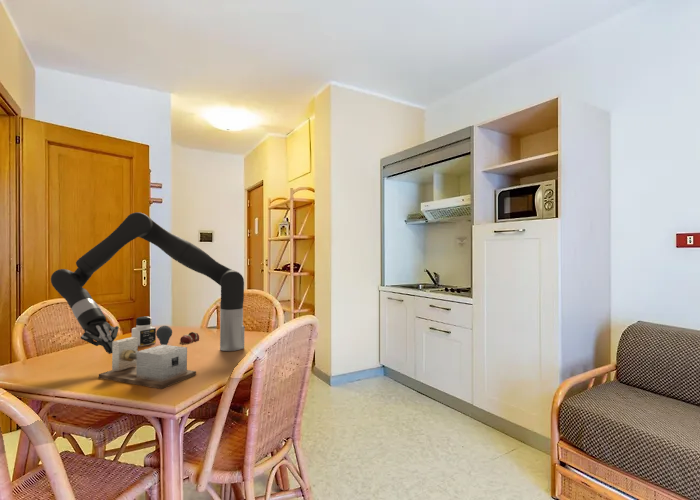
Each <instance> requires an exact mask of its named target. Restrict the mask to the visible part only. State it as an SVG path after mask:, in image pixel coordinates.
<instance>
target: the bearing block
mask: <svg viewBox="0 0 700 500" xmlns="http://www.w3.org/2000/svg"><path fill="white" fill-rule="evenodd" d="M187 370H188V347H185V346H177V345H170V344H167V345H161V344H159V345H157V346H152V347H150V348H144V349H141V350H137V375H136V378H142V379H148V380H154V381H160V382H163V381H166V380H168V379H171V378H173V377H176V376H179V375H181V374H184V373H186V372H187Z"/></svg>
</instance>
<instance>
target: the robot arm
mask: <svg viewBox="0 0 700 500" xmlns="http://www.w3.org/2000/svg"><path fill="white" fill-rule="evenodd" d="M137 238H140V239H142V240H145V241H147V242H149V243H151V244H153V245H154V246H156V247H157V248H159V249H160V250H161V251H163V252H164V253H165V254H166V255H168V256H169V257H170V258H171V259H173V260H174V261H175V262H177V263H179V264H180V265H182V266H184V267H186V268H188V269H189V270H191V271H194V272H196V273H199V274H201V275H204V276H206V277H207V278H209V279H210V280H212V281H213V282H215V283H216V284H218V285H219V286H220V307H219V308H220V309H219V311H220V315H219V316H220V317H219V318H220V319H219V321H220V322H219V326H220V327H219V328H220V329H219V331H220V332H219V333H220V334H219V349H220V351H222V352H223V351H224V352H234V351H240V350H243V349H245V325H244V301H245V299H244V298H245V280H244V276H243V275H242V274H241V273H240V272H238V271H236V270H233V269H232V268H230V267H227V266H225V265H224V264H222V263H220V262H219V261H217V260H216V259H214V258H213V257H212V256H210V254H208V253H207V252H205V251H204V250H202V248H199V246H197V245H195V244H194V243H192V242H190V241H189V240H187V239H185V238H183V237H180V236H179V235H176V234H175V233H172V232H170V231H168V230H167V229H165V228H163V226H161V225H159V224H158V223H157V222H156V221H154V219H151V217H149V215H147V214H145V213H144V212H143V213H142V212H140V211H139V212H132V213H130V214H129V215H127V216H126V218H125V219H124V220H123V221H122V222H121V223H120V224H119V225H118V226H117V228H116V229H114V230H113V231H112V233H110V234H109V235H108V236H107V237H105V238H104V239H103V240H101V241H100V242H99V243H98V244H96V245H95V246H93V247H92V248H91V249H90V250H88V251H87V252H85V253H84V254H83V255H82V256H80V257H79V258H78V259H77V260H76V262H75V265H76V267H77V268H76V270H74V271H71V270H69V269H67V268H66V269H65V268H60V269H57V270H55V271H54V272H53V273H52V274H51V276H50V283H51V285H52V287H53V288H54V290H55V291H56V292H57V293H58V294H59V295H60V296H61V297H62V298H63V299H64V300H65V301H66V303H67V304H68V306H69V307H70V309H71V311H72V313H73V315H74V317H75V319H76V321H77V322H78V324H79V325H80V327H81V329H82V330H83V331H84V333H82V335H81V336H80V339H81V340H83V341H84V342H87V343H89V344H91V345H92V346H93V345H94V346H95V347H98V346H101V347H102V348H103V349H104V351H105V352H106V353H107V354H108V355H111V354H112V341H116V339H117V337H118V334H119V333H118V332H119V326H118V325H115V327H114V326H112V325H111V324H110V323H108V321H107V317H106V316H105V314H104V312H103V311H102V310H101V308H100V307H99V305H98V303H97V302H96V301H95V300H94V299H93V297H92V296H91V294H90V293H89V291H88V290H87V289H86V288H83V287H84V286H85V285H86V283H87V282H88V281H89V280H90V279H91V277H92V276H93V274H94V273H95V272H97V271H98V270H99V269H100V268H101V267H103V266H104V265H105V264H106V263H108V261H110V260H112V258H113V257H114V256H115V255H116V254H117V253H118V252H120V250H121V249H122V248H123V247H125V246H126V245H127V244H129V243H130V242H131V241H133V240H135V239H137Z"/></svg>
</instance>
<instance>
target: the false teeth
mask: <svg viewBox="0 0 700 500" xmlns="http://www.w3.org/2000/svg"><path fill="white" fill-rule="evenodd" d="M179 341H180V343H183V344H184V343H186V344H193V341H197V342H198V341H200V335H199V333H198V332H194V331H191V332H189V333H188V334H186V333H185V334H183V336H181V337H180V339H179Z"/></svg>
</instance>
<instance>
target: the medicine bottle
mask: <svg viewBox="0 0 700 500" xmlns="http://www.w3.org/2000/svg"><path fill="white" fill-rule="evenodd" d="M135 319H136V320H135V327H133V328H131V337H135V338H138V347H144V346H148V345H153V344H156V341H157V336H156V332H157V328H156V327H154V326H152V322H153V321H152V319H153V318H152V317H151V316H140V317H136V318H135Z"/></svg>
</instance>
